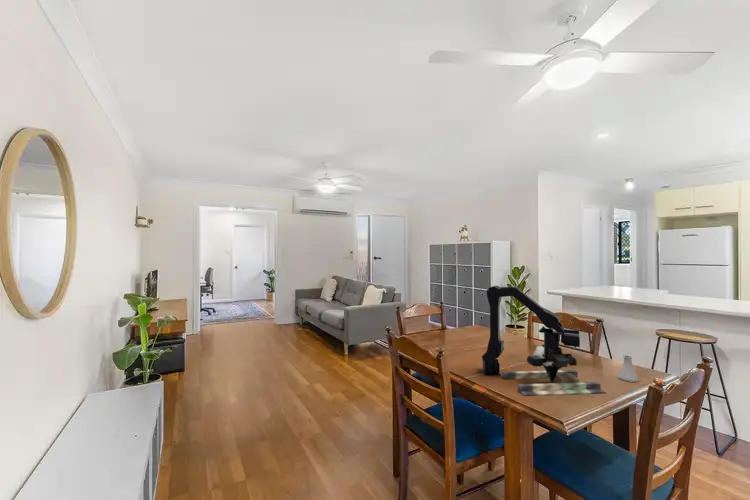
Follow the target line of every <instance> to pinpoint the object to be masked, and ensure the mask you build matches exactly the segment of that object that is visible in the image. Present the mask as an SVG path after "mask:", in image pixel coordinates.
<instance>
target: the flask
mask: <svg viewBox="0 0 750 500" xmlns="http://www.w3.org/2000/svg"><path fill="white" fill-rule="evenodd" d="M622 357H623V364H622V367H621V369H620V371H619V373H618V376H617V379H620V380H622V381H625V382H630V383H634V382H635V383H637V382H639V378H638V375H637V373H636V371H635V368H634V365H633V361H632V360H633V356H632V355H627V354H626V355H625V354H624V355H623V356H622Z"/></svg>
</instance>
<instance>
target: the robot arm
mask: <svg viewBox="0 0 750 500" xmlns="http://www.w3.org/2000/svg"><path fill="white" fill-rule="evenodd" d="M486 297H487V302H488V304H489V340H488V344H487V348H486V351H485V352H484V354H483V355H481V359H482V369H481V372H482V373H483V374H484V375H485V376H500V374H501V373H500V372H501V371H500V366H501V364H500V363H499V359H498V358H499V357H500V356H501V355H502V353H503V352H504V351H505V347H504V344H505V340H501V337H500V332H501V329H500V327H501V325H500V324H501V323H500V314H501V313H500V306H501V303H502V298H507V297H514V298H515V299H516V300H517V301H518V302H520V303H521V304H522V305H523V306H524V307H525V308H527V309H529V310H530V311H531V313H533V314H535V315H536V317H537V318H538V319H539V321H540V322H541V323H542V324H543V326H542V327H541V328H540V329H539V330H538V332H539V333H542V334H543V344H542V345H541V346H542V347H544V354H542V356H543V357H544V358H540V357H538V356H533V355H528V356H527V358H526V362H527V363H528V364H530V365H531V366H533V367H542V366H543V368H544V371H546V372H547V374H548V377H549V378H548V379H549V381H551V382H554V378H555V376H556V374H557V372H558V370H561V368H567V367H568V366H577V364H578V361H577V358H575V357H574V356H573V355H572V354H571V353H563V350H562V347H560V343H562V345H563V346H566V347H575V348H580V347H581V345H580V343H581V342H580V341H581V340H580V330H579V329H567V328H566V329H565V327H564V325H563V324H562V323H561V322H560V317H559V316H558V315H557V313H555V312H553V311H551V310H549V309H547V308H544V307H543V306H541V305H540V304H539V303H537V302H536V301H535V300H534V299H533V298H531V297H530V296H529V295H528V294H526V293H524V292H523V291H522V290H521V289H520V287H518V286H503V287H502V286H501V287H500V286H499V285H492V286H489V287H488V288H487V290H486ZM547 360H549V361H547Z"/></svg>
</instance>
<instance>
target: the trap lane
mask: <svg viewBox="0 0 750 500" xmlns="http://www.w3.org/2000/svg"><path fill="white" fill-rule="evenodd" d="M557 373H571V374H572V375H574V376H575V377H576V378H578V371H577V370H576V369H565V370H564V369H563V370H561V369H559V370H558V372H557ZM499 376H501V378H502V379H504V380H524V379H525V380H527V379H549V377H548V374H547V372H546V370H522V371H520V370H519V371H502V373H500V375H499ZM601 387H602V386H601V383H599V382H598V381H589V382H587V381H586V382H582V381H581V382H580V381H579V382H578V383H555V382H553V383H550V382H548V383H547V382H546V383H523V384H522V383H519V384H517V391H518V392H519V393H520V394H521V395H522V396H525V397H527V396H528V397H531V396H532V397H535V396H561V395H565V396H566V395H591V394H593V395H594V394H596V395H597V394H606V393H607V391H605V390H603V389H602V388H601Z"/></svg>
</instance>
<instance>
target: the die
mask: <svg viewBox="0 0 750 500" xmlns="http://www.w3.org/2000/svg"><path fill="white" fill-rule="evenodd" d="M542 354H544V347H542V345H541V346H537V345H536V348H535V349H534V352H533V353H532V356H538V357H540V358H544V357H543V356H542ZM547 361H549V360H547Z"/></svg>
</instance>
